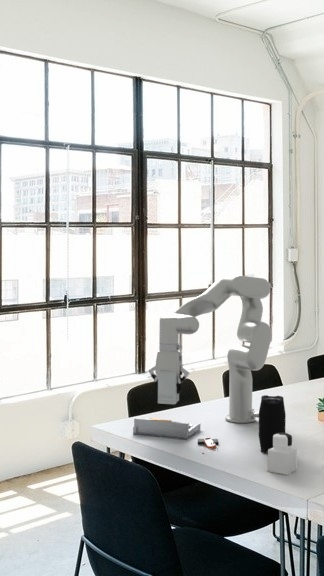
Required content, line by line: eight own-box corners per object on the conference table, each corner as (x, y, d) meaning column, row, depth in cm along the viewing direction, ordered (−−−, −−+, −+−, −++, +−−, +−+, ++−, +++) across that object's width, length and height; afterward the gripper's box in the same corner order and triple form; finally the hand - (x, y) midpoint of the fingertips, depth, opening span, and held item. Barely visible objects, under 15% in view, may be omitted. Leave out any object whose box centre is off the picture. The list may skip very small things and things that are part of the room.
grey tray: (200, 430, 280) (200, 414, 279) (186, 440, 265) (186, 423, 265) (149, 425, 288) (149, 409, 287) (133, 434, 273) (133, 418, 273)
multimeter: (229, 457, 245) (229, 447, 245) (194, 455, 246) (194, 446, 246) (230, 443, 263) (230, 434, 262) (197, 442, 264) (198, 433, 264)
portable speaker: (254, 450, 252) (254, 395, 251) (277, 447, 255) (277, 393, 255) (266, 456, 244) (266, 400, 243) (289, 453, 247) (290, 398, 247)
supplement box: (175, 404, 273) (176, 372, 272) (157, 403, 274) (157, 371, 274) (179, 400, 280) (179, 369, 279) (161, 399, 282) (161, 368, 281)
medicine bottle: (276, 466, 233) (277, 430, 233) (296, 469, 229) (297, 433, 229) (267, 471, 227) (267, 434, 227) (287, 475, 223) (288, 438, 223)
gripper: (193, 347, 276) (192, 392, 277) (152, 345, 283) (151, 388, 284) (186, 350, 269) (186, 395, 270) (144, 347, 276) (144, 392, 277)
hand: (168, 391), depth 277 cm, fingers closed on supplement box, 8 cm apart
